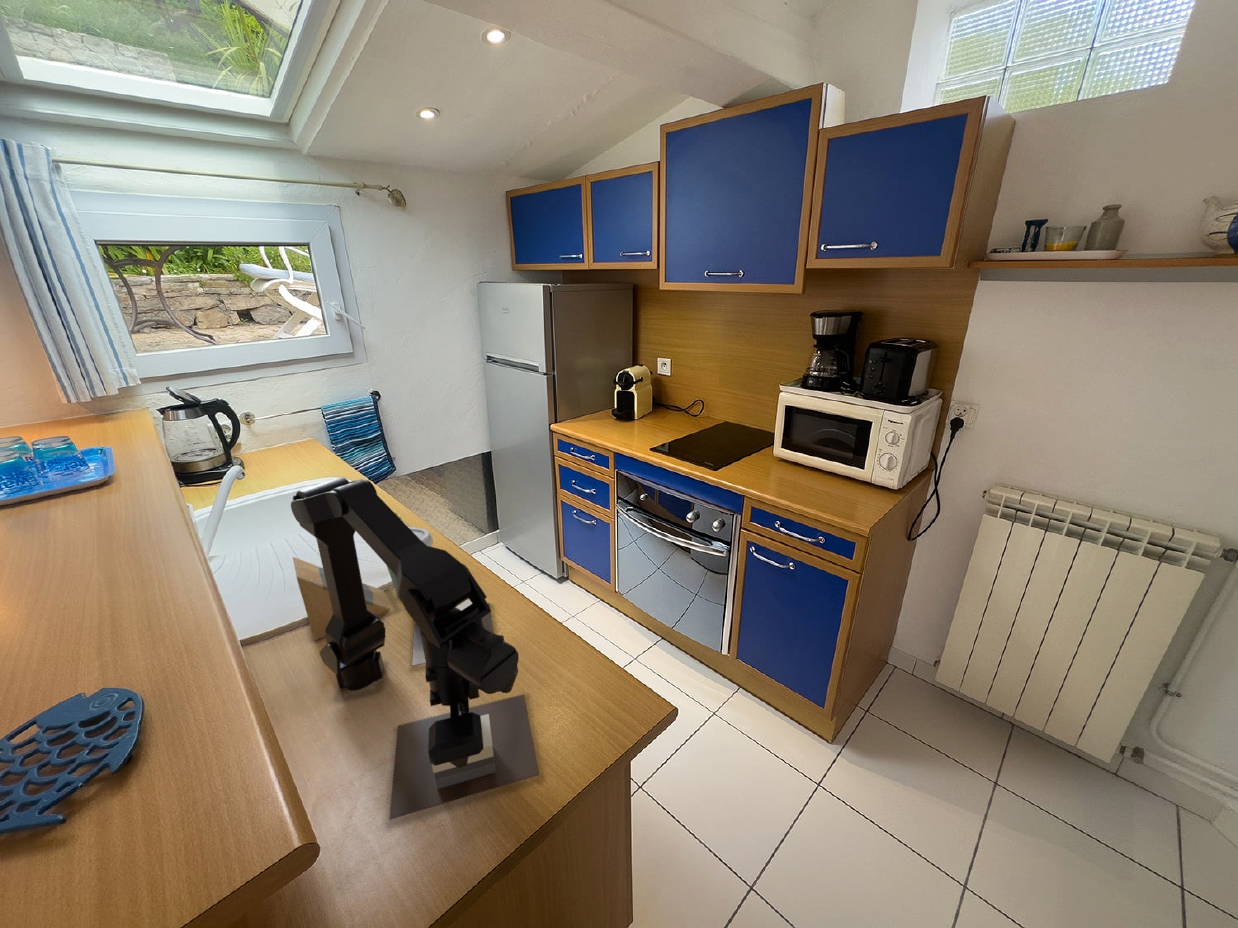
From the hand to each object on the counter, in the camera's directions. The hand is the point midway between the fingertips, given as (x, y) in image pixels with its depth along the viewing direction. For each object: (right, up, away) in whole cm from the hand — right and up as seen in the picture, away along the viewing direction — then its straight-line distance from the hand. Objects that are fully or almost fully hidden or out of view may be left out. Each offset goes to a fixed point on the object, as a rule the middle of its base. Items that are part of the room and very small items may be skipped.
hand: (461, 736), depth 70 cm
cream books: (-11, +6, +31) cm, 33 cm away
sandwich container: (-34, +7, +34) cm, 48 cm away
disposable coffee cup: (-23, +10, +41) cm, 48 cm away
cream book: (0, -2, +1) cm, 2 cm away
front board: (-1, -6, +5) cm, 8 cm away
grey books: (0, -6, +2) cm, 6 cm away
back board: (-11, +4, +29) cm, 31 cm away
